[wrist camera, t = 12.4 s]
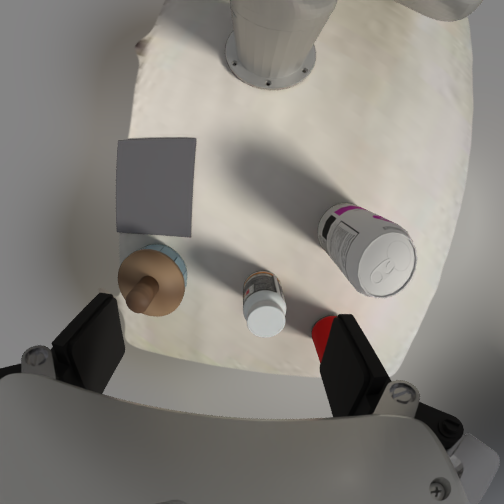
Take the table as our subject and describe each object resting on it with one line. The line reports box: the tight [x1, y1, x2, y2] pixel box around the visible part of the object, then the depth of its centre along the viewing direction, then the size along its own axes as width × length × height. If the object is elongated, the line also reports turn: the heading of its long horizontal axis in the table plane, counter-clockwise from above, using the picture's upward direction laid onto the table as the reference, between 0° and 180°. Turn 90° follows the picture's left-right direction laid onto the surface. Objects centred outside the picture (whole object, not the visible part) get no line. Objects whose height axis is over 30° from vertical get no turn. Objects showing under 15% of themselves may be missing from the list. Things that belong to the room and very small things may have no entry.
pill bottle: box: [243, 271, 286, 337], centre depth 36 cm, size 6×6×10 cm
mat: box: [116, 138, 196, 237], centre depth 36 cm, size 14×12×1 cm
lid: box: [118, 249, 185, 316], centre depth 34 cm, size 10×10×6 cm
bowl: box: [140, 244, 187, 287], centre depth 38 cm, size 9×9×4 cm
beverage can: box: [312, 316, 337, 363], centre depth 38 cm, size 6×6×12 cm
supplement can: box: [318, 203, 417, 298], centre depth 31 cm, size 8×8×15 cm
